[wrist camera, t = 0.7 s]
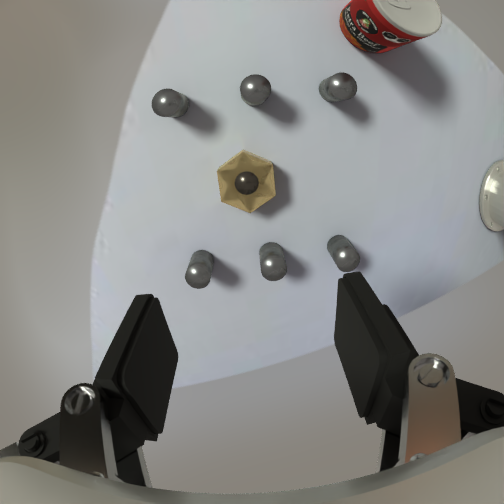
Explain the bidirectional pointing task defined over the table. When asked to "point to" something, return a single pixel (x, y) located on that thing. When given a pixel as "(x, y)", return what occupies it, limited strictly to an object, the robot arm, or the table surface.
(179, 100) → the posts
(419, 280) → the table surface
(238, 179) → the brass nut
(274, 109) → the table surface
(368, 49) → the canned food
